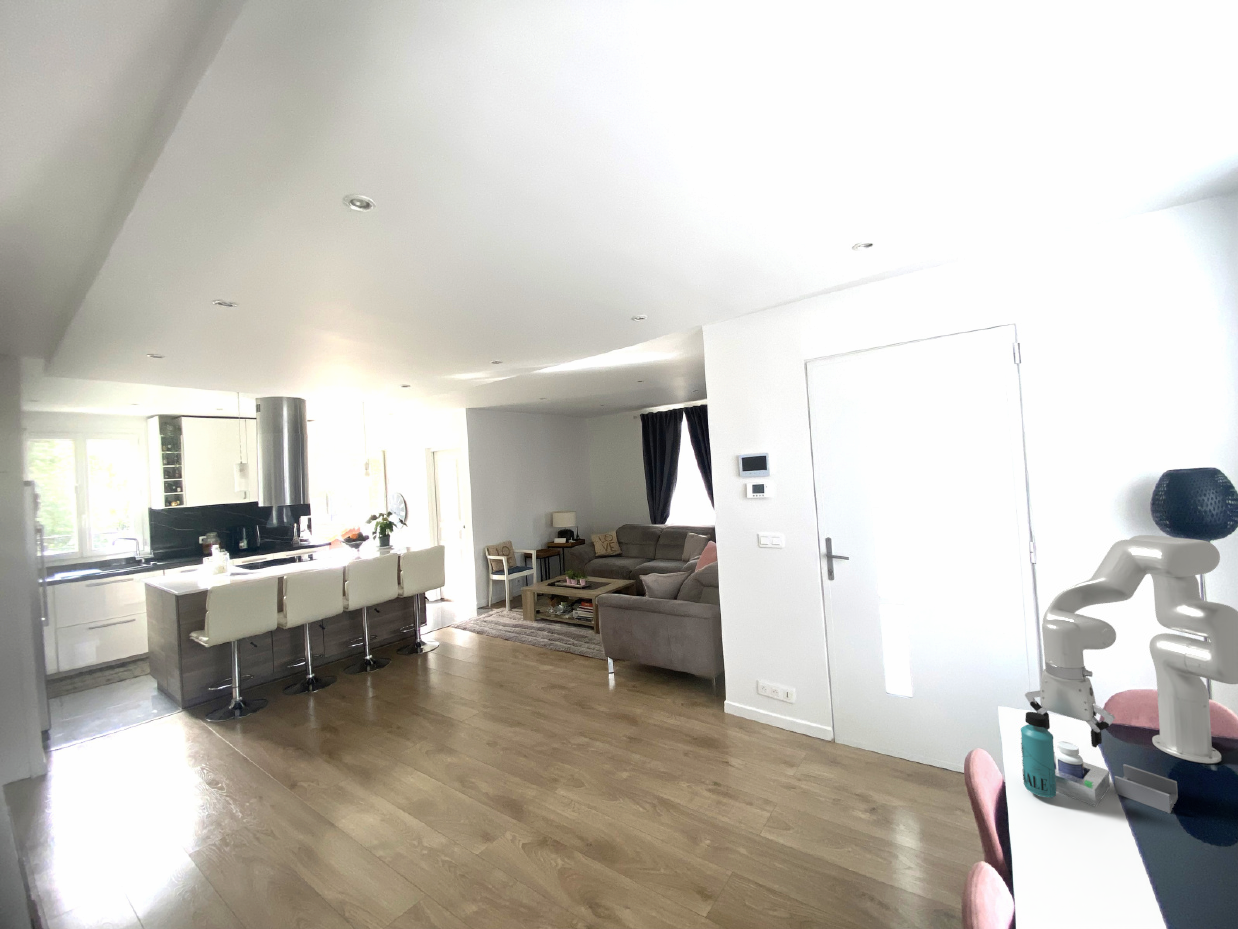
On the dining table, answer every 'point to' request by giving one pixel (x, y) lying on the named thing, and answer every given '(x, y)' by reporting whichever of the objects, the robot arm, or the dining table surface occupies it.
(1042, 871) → the dining table surface
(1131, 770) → the grey open frame
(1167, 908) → the dining table surface
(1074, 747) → the pill bottle
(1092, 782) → the port
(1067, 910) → the dining table surface
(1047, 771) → the beverage bottle
